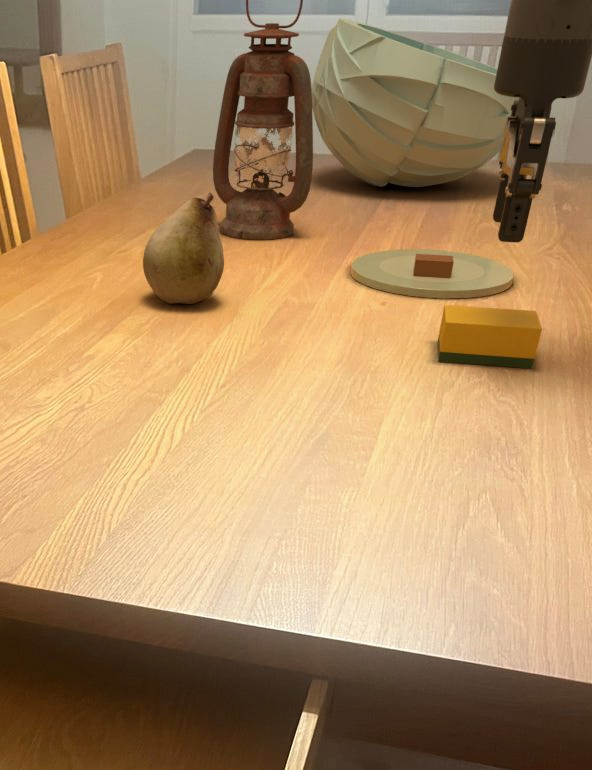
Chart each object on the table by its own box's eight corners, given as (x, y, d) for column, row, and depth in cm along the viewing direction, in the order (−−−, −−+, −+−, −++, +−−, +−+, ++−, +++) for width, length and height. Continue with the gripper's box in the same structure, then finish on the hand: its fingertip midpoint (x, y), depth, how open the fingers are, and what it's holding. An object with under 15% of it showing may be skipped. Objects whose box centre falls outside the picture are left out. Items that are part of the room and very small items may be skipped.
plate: (506, 261, 129) (507, 253, 128) (518, 303, 113) (520, 294, 113) (354, 253, 133) (355, 245, 133) (346, 292, 117) (347, 284, 117)
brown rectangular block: (450, 272, 121) (453, 255, 120) (450, 278, 119) (453, 261, 118) (413, 270, 122) (415, 253, 121) (413, 276, 120) (415, 259, 118)
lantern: (285, 246, 137) (313, -58, 116) (191, 230, 145) (202, -56, 125) (322, 232, 144) (355, -57, 123) (230, 217, 152) (247, -55, 132)
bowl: (455, 195, 189) (512, 72, 175) (485, 239, 161) (555, 96, 147) (287, 140, 187) (331, 11, 174) (287, 174, 159) (340, 23, 146)
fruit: (231, 310, 112) (238, 199, 105) (153, 315, 110) (155, 203, 103) (206, 286, 120) (212, 181, 113) (133, 291, 118) (134, 185, 112)
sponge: (526, 349, 100) (536, 310, 98) (532, 369, 95) (542, 328, 93) (437, 343, 102) (444, 304, 100) (438, 361, 97) (445, 322, 95)
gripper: (609, 38, 77) (555, 251, 86) (586, 28, 88) (540, 217, 97) (510, 36, 78) (468, 246, 88) (499, 27, 89) (463, 213, 99)
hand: (506, 231), depth 92 cm, fingers open, 8 cm apart
